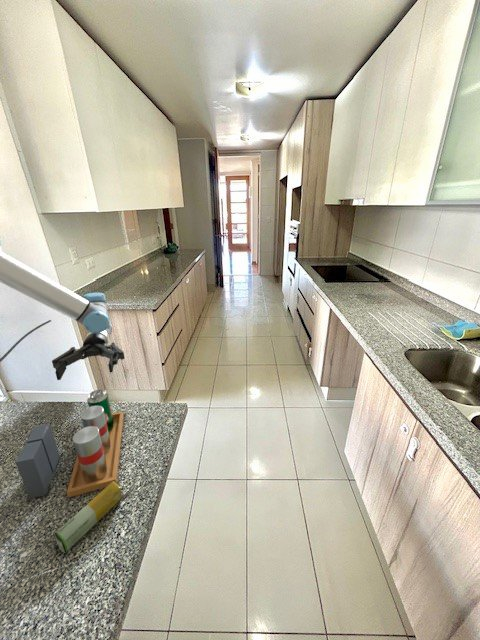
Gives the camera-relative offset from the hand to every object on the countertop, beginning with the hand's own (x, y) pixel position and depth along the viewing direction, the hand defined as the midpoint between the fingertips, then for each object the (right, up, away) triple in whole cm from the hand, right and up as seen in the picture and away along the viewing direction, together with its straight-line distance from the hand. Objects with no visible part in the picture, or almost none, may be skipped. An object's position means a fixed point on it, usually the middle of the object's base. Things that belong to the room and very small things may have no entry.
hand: (84, 372), depth 76 cm
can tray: (+9, -19, -8) cm, 22 cm away
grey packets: (0, -22, -15) cm, 26 cm away
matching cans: (+10, -20, -11) cm, 25 cm away
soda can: (+7, -16, -1) cm, 18 cm away
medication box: (+16, -25, -24) cm, 38 cm away
